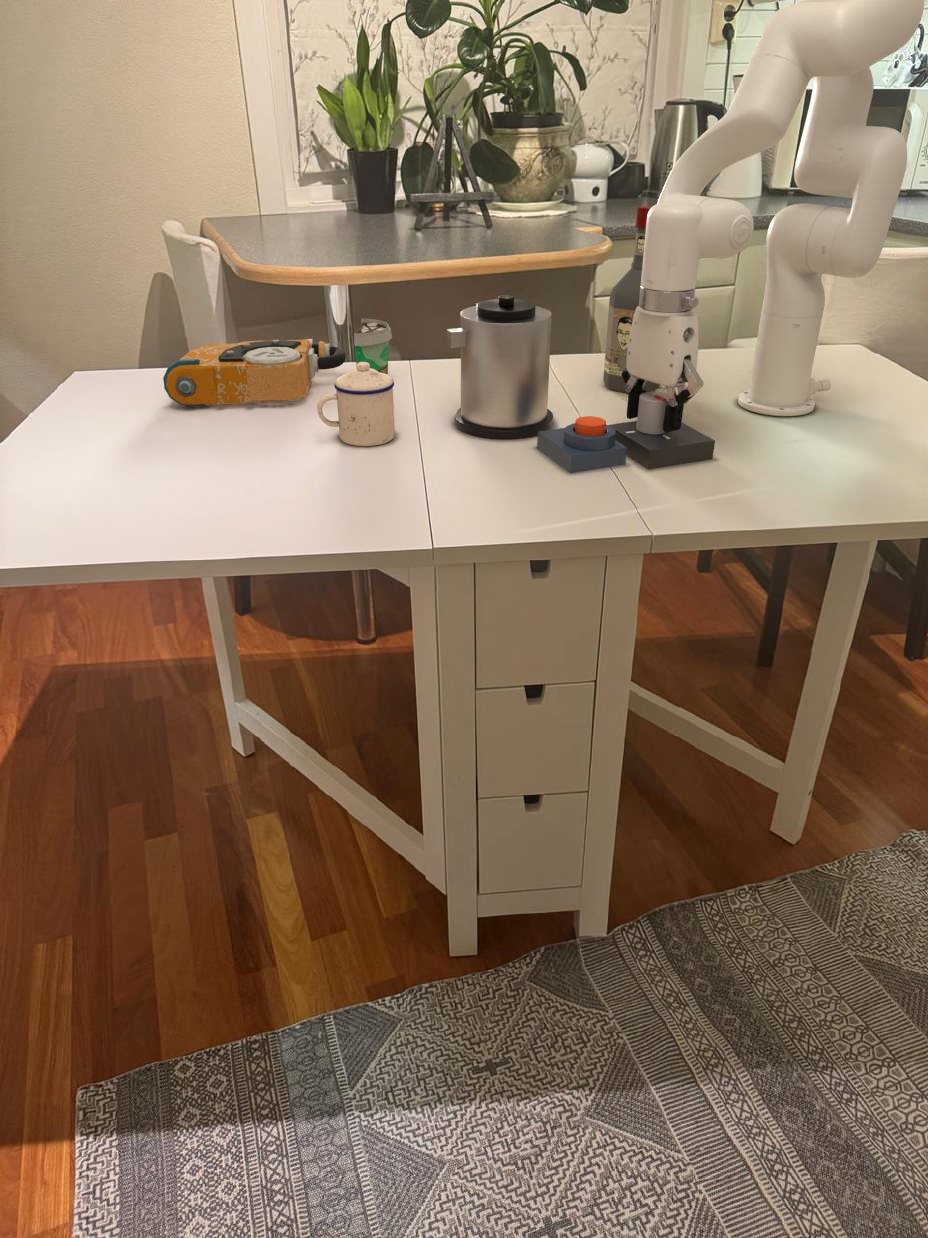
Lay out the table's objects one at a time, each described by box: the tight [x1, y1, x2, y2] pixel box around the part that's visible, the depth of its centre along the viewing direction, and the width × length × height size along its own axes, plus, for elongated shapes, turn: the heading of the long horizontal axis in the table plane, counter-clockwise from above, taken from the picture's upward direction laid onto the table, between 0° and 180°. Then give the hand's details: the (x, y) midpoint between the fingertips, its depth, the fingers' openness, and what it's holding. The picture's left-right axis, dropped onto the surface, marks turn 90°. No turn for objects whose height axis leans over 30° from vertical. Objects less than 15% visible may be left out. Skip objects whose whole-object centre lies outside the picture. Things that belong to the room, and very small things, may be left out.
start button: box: [574, 415, 607, 436], centre depth 132 cm, size 4×4×2 cm
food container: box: [353, 318, 393, 375], centre depth 167 cm, size 12×6×10 cm, turn 179°
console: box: [608, 419, 716, 470], centre depth 137 cm, size 11×12×3 cm
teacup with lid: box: [316, 362, 396, 447], centre depth 140 cm, size 12×9×12 cm
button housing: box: [536, 422, 627, 474], centre depth 135 cm, size 9×11×4 cm
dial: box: [636, 391, 670, 435], centre depth 136 cm, size 5×5×5 cm
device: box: [162, 338, 347, 408], centre depth 162 cm, size 23×8×30 cm
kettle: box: [446, 294, 554, 441], centre depth 145 cm, size 17×20×20 cm
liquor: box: [603, 205, 661, 394], centre depth 158 cm, size 9×9×30 cm
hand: (653, 422), depth 136 cm, fingers open, 6 cm apart
